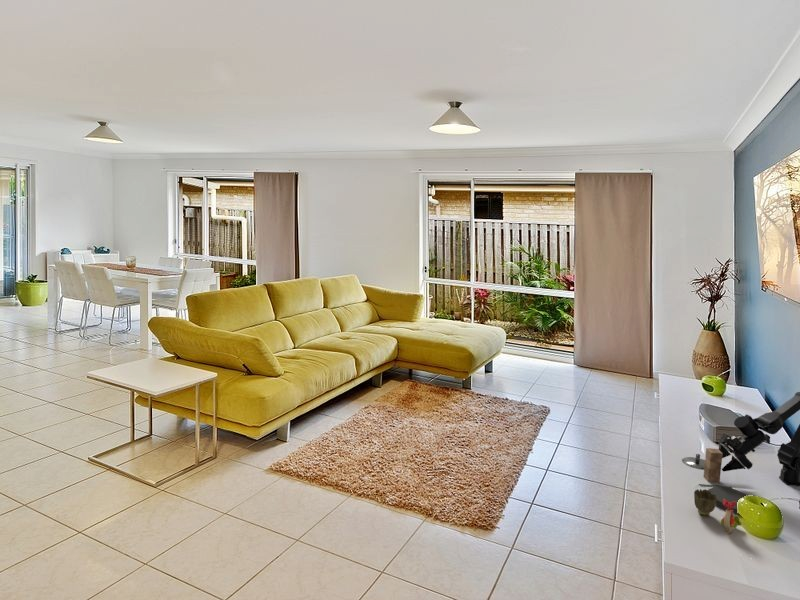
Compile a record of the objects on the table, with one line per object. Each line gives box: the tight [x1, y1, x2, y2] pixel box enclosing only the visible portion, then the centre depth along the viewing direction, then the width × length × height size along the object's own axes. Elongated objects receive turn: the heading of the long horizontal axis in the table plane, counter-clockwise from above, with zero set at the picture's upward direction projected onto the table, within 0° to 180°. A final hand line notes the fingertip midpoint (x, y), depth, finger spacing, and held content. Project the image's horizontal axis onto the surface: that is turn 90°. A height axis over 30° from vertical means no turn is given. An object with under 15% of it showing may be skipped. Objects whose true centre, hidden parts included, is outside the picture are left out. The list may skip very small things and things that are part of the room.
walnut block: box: [703, 447, 723, 484], centre depth 217 cm, size 4×4×13 cm
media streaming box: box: [706, 486, 748, 514], centre depth 203 cm, size 15×15×3 cm
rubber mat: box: [698, 483, 733, 488], centre depth 218 cm, size 12×10×1 cm
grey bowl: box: [681, 453, 705, 471], centre depth 233 cm, size 12×12×5 cm
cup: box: [693, 488, 718, 517], centre depth 194 cm, size 8×7×8 cm
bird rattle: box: [720, 499, 743, 534], centre depth 184 cm, size 6×11×9 cm
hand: (717, 465), depth 217 cm, fingers open, 9 cm apart
